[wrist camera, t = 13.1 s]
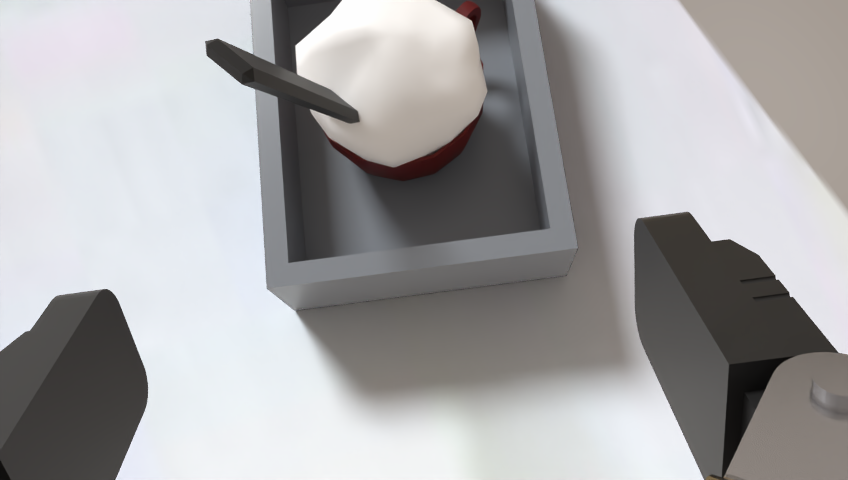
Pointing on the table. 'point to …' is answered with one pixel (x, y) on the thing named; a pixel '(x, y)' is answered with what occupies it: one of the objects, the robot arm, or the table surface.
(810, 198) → the table surface
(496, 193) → the dock tray
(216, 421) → the table surface
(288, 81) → the cocoa
